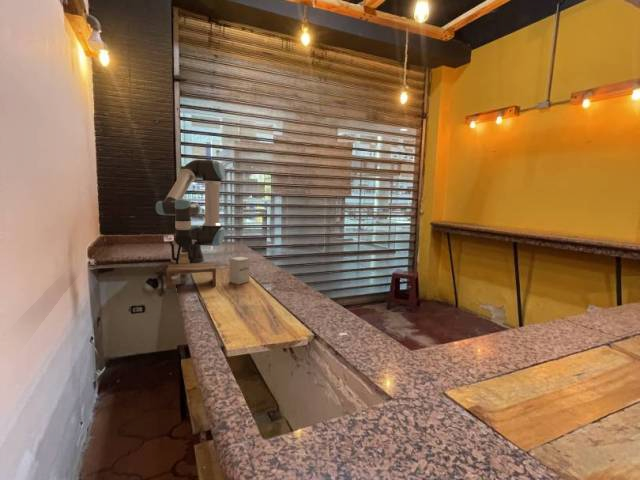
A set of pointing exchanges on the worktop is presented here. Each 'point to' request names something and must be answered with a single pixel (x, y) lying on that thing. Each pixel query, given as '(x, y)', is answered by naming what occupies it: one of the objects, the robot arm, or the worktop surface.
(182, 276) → the tan wood-grain block
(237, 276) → the grey canister
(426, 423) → the worktop surface
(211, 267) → the brown wooden stand
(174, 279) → the brown square block
